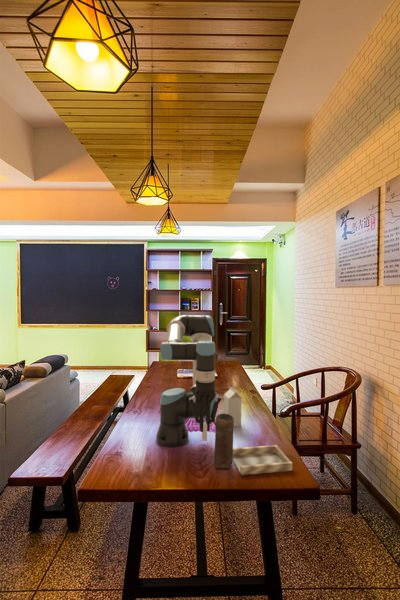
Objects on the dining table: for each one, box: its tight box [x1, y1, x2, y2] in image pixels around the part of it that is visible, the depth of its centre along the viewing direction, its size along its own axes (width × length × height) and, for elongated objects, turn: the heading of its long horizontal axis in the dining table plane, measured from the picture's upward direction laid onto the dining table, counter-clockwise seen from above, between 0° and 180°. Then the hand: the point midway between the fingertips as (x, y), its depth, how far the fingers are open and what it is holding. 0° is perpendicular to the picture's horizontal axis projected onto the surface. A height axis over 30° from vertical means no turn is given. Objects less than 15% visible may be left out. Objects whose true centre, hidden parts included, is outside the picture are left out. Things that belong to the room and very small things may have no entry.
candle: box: [213, 412, 235, 469], centre depth 130 cm, size 8×7×20 cm
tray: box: [232, 444, 293, 476], centre depth 133 cm, size 21×15×3 cm
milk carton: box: [223, 386, 242, 428], centre depth 171 cm, size 7×7×19 cm
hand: (204, 439), depth 129 cm, fingers closed
